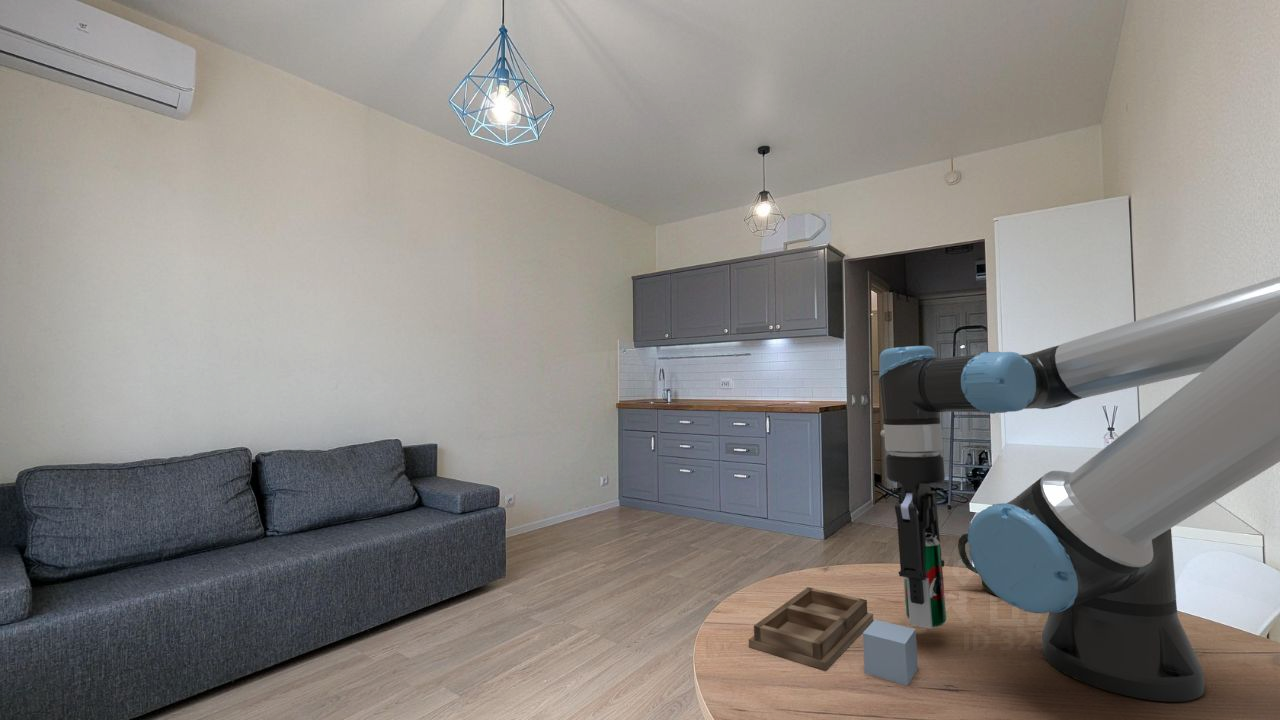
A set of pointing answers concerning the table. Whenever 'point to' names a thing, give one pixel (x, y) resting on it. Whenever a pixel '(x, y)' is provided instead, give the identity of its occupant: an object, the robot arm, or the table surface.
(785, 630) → the caddy
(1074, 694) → the table surface
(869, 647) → the block
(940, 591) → the soda can
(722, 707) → the table surface
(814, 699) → the table surface
